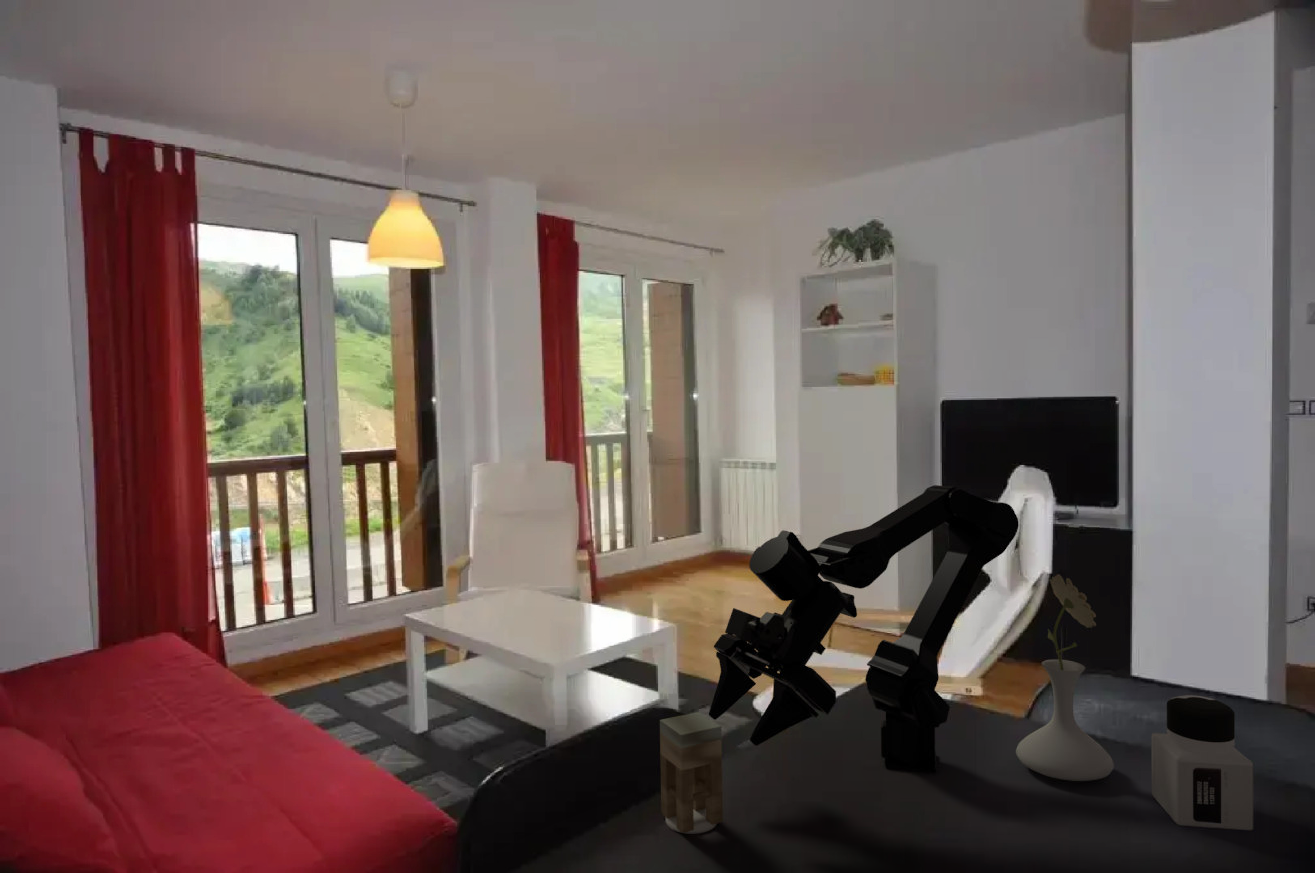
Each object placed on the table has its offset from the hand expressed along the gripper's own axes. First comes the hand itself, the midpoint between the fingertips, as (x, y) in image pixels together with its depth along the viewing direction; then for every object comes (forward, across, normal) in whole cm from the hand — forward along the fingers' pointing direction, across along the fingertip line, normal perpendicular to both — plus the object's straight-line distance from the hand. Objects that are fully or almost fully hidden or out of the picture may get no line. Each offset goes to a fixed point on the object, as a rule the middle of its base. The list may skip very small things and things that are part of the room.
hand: (731, 729), depth 98 cm
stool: (+10, 0, +2) cm, 11 cm away
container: (-25, +26, +41) cm, 55 cm away
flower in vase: (-23, +11, +38) cm, 46 cm away
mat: (+11, 0, +3) cm, 11 cm away
